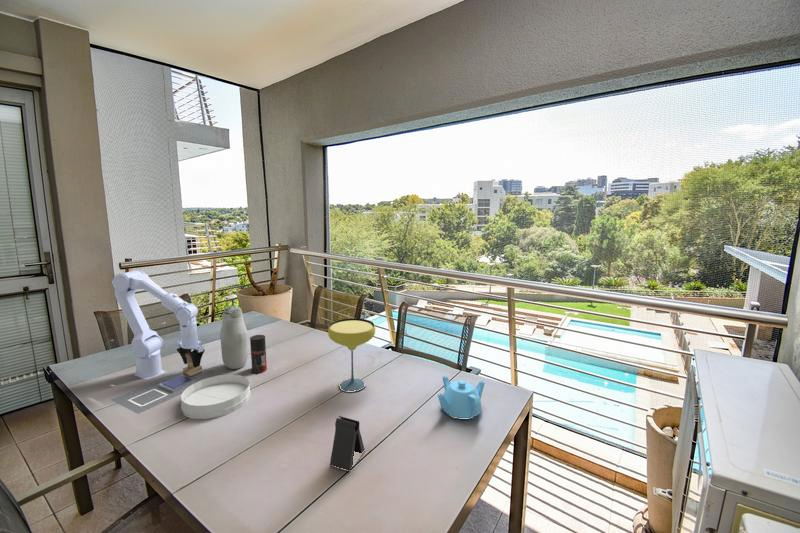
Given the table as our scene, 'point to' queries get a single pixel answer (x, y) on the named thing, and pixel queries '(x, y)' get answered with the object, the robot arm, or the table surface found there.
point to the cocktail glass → (351, 342)
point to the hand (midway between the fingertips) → (192, 364)
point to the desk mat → (154, 393)
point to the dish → (215, 396)
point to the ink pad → (177, 383)
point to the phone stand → (346, 442)
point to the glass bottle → (234, 338)
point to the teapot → (461, 398)
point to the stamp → (191, 368)
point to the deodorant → (258, 353)
